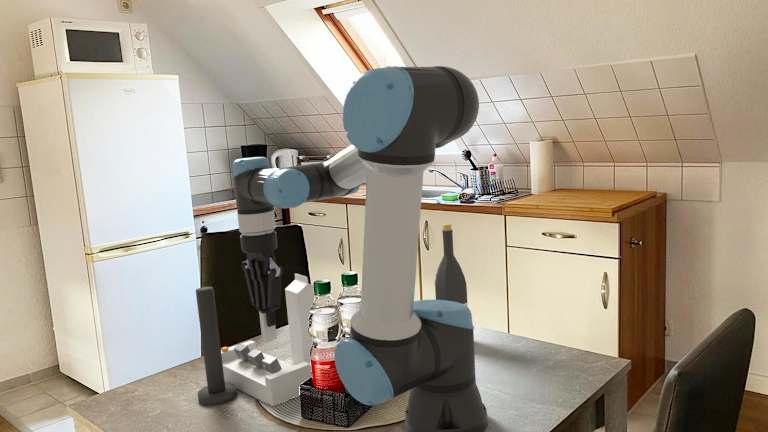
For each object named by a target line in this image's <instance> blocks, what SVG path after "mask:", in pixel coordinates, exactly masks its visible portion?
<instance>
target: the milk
mask: <svg viewBox="0 0 768 432" xmlns="http://www.w3.org/2000/svg"><path fill="white" fill-rule="evenodd" d="M284 293H285V302H286V310H287V312H286V313H287V321H288V322H287V323H288V332H289V333H288V334H289V342H290V352H291V361H292V365H294V366H295V365H298V364H300V363H303V362H307V363H309V364H310V348H311V345H312V341H313V340H312V338H311V337H310V335H309V333H308V317H309V310H310V307H311V305H312V304H313V301H314V292H313V284H310V283H309V278H308V276H305V275H302V274H299V273H294V280H293V281H292V282H291V283H290V284H289V285H287V287H285V288H284ZM310 367H311V366H310Z"/></svg>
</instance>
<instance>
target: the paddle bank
mask: <svg viewBox="0 0 768 432" xmlns="http://www.w3.org/2000/svg"><path fill="white" fill-rule="evenodd" d="M242 343H243V342H242ZM242 343H241V342H240V343H238V344H236V345H237V346H236V347H235V348H234V350H235V352H236V354H237V356H238V358H239V359H241V360H243V361H245V362H246V361H249V362H251V363H252V365H254V366H256V367H258V368H261V367H262V368H265V369H266V370H267V372H269V373H272V374H274V373H277V372H279V371H280V370H282V368H281V366H280V364H279V362H278V360H277V359H278V357H275V356H272V355H270V354H267V355H268V356H267V357H266V358H264V356H263V354H262V353H263V352H262V351H261V350H258V349H257V348H256V349H253V350H252V351H251V352H250V350H249V348H248V346H246V345H244V344H242Z"/></svg>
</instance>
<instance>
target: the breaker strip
mask: <svg viewBox="0 0 768 432" xmlns="http://www.w3.org/2000/svg"><path fill="white" fill-rule="evenodd" d="M242 344H244V345H246V346H248V348H249V350H250V352H251V351H252V350H253V349H256V350H257V343H256V341H253V340H248V341H245V342H242ZM237 345H238V344H235V345H233V346H230V347H229V346H223V347H221V356H222V364H223V372H224V381H225V383H232V384H234V385H235V386H236V390H237V389H238V390H240V391H241V392H243V393H246V394H247V395H249V396H250V397H253V398H255V399H256V400H258V399H260V400H262V401H264V402H266V403H268V404H270V405H271V406H270V405H269V406H270V407H272V406H275V405H277V404H279V403H282V402H284V401H287V400H289V399H291V398H293V397H296V396H298V395H299V386H300V384H301V383H302V382H304V381H305V380H307V379H308V378H310V377H312V370H311V367H310V364H309V363H307V362H303V363H300V364H298V365H295V366H294V365H293V364H291V363H289V362H287V361H283V360H281V359H278V358H277V360H278V362H279V364H280V366H281V368H282V370H280V371H279V372H277V373H274V374H272V373H269V372H267V370H266V369H265V368H262V367H261V368H258V367H256V366H254V365H252V363H251V362H249V361H246V362H245V361H243V360H241V359H239V358H238V356H237V354H236V352H235V350H234V348H235V347H236V346H237ZM262 354H263V356H264V358H266V357H267V356H268V355H269V354H267V353H265V352H262ZM296 398H297V397H296ZM260 400H259V401H260ZM262 401H261V402H262ZM289 401H290V400H289ZM264 402H263V403H264ZM287 402H288V401H287ZM266 403H265V404H266ZM284 403H285V402H284ZM268 404H267V405H268ZM282 404H283V403H282ZM277 406H278V405H277ZM275 407H276V406H275Z"/></svg>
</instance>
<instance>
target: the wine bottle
mask: <svg viewBox="0 0 768 432" xmlns="http://www.w3.org/2000/svg"><path fill="white" fill-rule="evenodd" d="M441 232H442V245H443V256H442V258H441V261H440V263H439V265H438V267H437V270H436V274H435V280H434V292H435V294H434V295H435V300H447V301H453V302H458V303H461V304H463V305H465V306H467V307H468V308H469V306H468V289H467V286H468V285H467V281H466V278H465V275H464V273H463V269H462V267H461V265H460V263H459V262H458V260H457V258H456V256H455V255H454V239H453V238H454V237H453V232H454V231H453V229H452V224H451V223H443V224H442V230H441Z"/></svg>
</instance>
